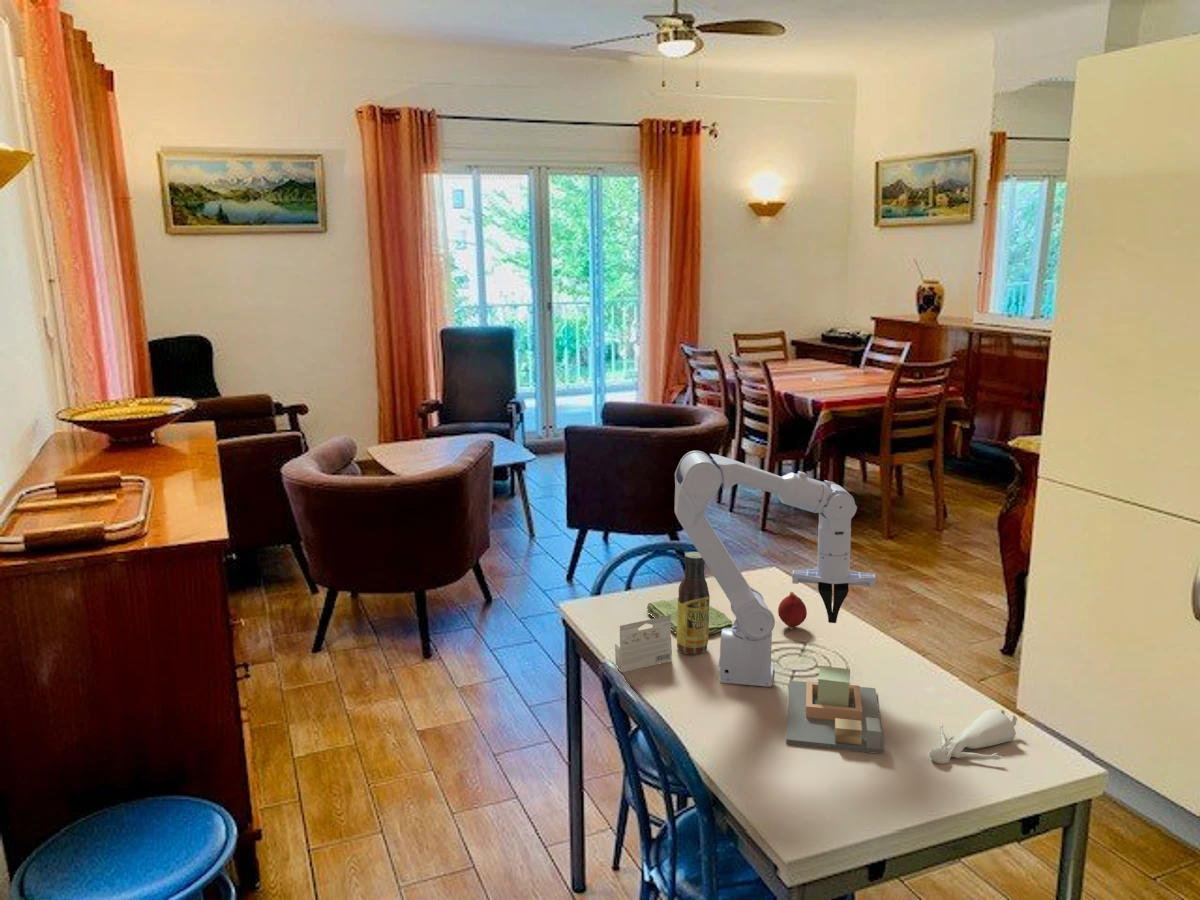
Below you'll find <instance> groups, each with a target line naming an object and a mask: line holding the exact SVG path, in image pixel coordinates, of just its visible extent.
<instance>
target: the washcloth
mask: <svg viewBox="0 0 1200 900" xmlns="http://www.w3.org/2000/svg"><path fill="white" fill-rule="evenodd" d="M678 598H679V597H674V598H673V599H668V600H667V599H666V600H664V599H663V600H656V601H651V602H649V603H648V604H647V606H646V613H647V612H648V613H650V614H652V616H654V617H655V618H659V617H664V616H669V615H671V629H672V630H673V631H674V632H676V635H677V612H678ZM647 609H648V610H647ZM648 613H647V614H648ZM733 624H734V623H733V620H731V619H730V618H729V617H728V616H727V615H726V613H724V612H722V611H720V610H718V609H716V608H715V607H713V606H711V605H709V629H708V636H710V635H713V634H716V633H719V632H722V629H727V628H732V626H733ZM672 630H671V631H672ZM673 631H672V632H673ZM674 632H673V633H674Z"/></svg>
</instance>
